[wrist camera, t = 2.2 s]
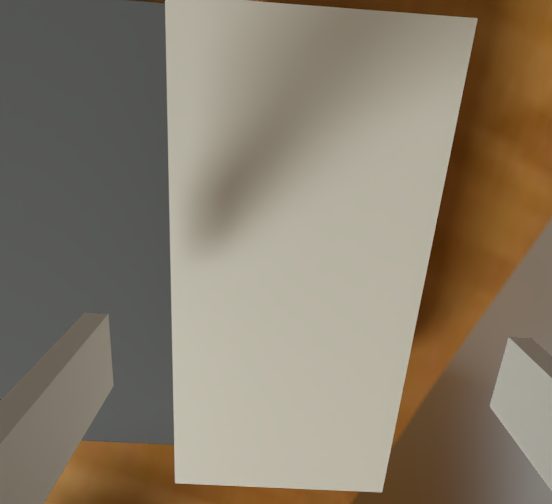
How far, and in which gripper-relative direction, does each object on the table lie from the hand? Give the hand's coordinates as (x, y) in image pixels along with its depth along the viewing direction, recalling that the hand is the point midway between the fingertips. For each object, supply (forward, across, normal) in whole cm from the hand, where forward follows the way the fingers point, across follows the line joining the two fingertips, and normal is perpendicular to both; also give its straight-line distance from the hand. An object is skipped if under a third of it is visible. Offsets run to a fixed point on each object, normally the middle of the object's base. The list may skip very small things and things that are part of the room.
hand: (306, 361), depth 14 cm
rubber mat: (+12, -15, -2) cm, 20 cm away
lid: (+7, 0, 0) cm, 7 cm away
